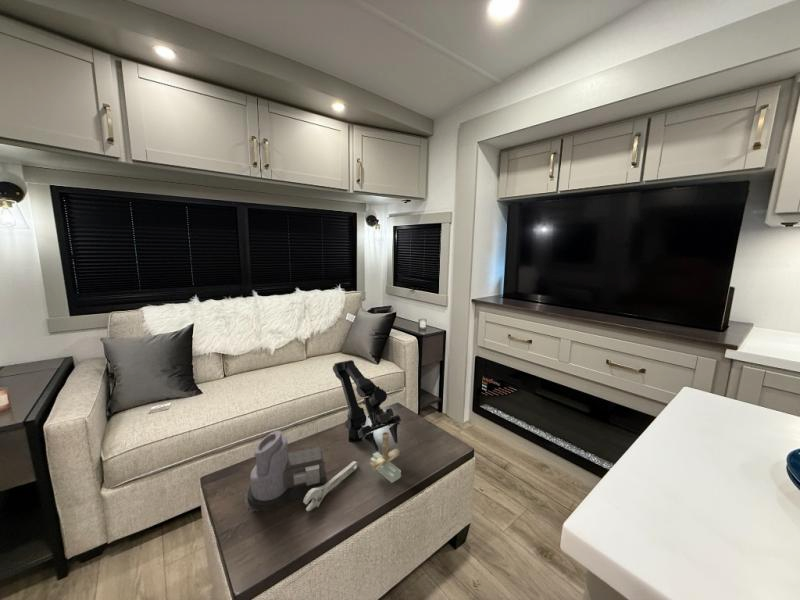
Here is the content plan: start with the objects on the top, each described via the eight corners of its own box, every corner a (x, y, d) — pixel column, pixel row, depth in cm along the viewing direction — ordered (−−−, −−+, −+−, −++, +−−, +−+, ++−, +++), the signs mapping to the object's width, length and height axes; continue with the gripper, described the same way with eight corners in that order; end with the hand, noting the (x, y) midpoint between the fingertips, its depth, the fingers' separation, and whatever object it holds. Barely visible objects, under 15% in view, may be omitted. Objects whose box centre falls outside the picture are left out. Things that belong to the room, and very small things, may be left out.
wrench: (357, 473, 134) (305, 519, 107) (354, 471, 135) (301, 516, 108) (358, 455, 133) (307, 496, 107) (355, 454, 134) (303, 494, 108)
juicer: (241, 517, 108) (236, 454, 103) (246, 484, 123) (242, 427, 118) (329, 495, 118) (328, 437, 114) (324, 466, 133) (323, 414, 128)
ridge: (370, 464, 135) (370, 455, 134) (379, 459, 138) (379, 450, 137) (391, 483, 125) (391, 473, 124) (400, 477, 128) (401, 467, 127)
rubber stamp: (373, 470, 125) (374, 442, 123) (370, 467, 127) (370, 439, 124) (399, 455, 134) (400, 428, 132) (395, 452, 136) (396, 426, 134)
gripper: (360, 410, 124) (374, 450, 117) (399, 397, 134) (414, 433, 128) (352, 418, 132) (364, 457, 125) (389, 406, 142) (402, 441, 135)
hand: (387, 446), depth 128 cm, fingers open, 9 cm apart
